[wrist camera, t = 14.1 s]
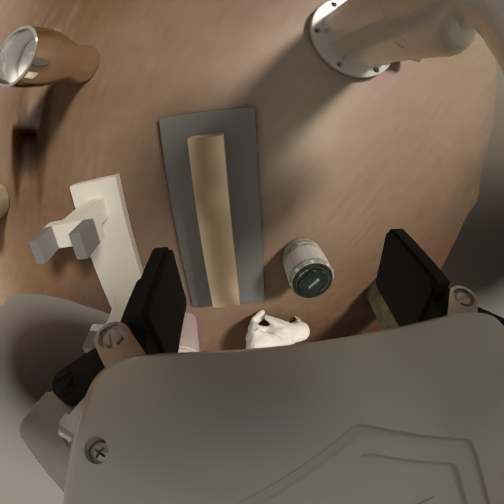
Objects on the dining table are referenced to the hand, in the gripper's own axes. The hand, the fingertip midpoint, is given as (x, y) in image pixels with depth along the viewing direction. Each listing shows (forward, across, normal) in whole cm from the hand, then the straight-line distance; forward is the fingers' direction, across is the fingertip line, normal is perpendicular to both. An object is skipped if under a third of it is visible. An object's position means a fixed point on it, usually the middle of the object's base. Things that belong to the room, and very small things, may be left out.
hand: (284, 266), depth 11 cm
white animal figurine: (+25, -2, +31) cm, 40 cm away
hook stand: (+25, +23, +13) cm, 36 cm away
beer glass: (+26, +22, -17) cm, 38 cm away
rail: (+25, +6, +10) cm, 27 cm away
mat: (+26, +6, +10) cm, 28 cm away
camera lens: (+26, -6, +17) cm, 31 cm away
